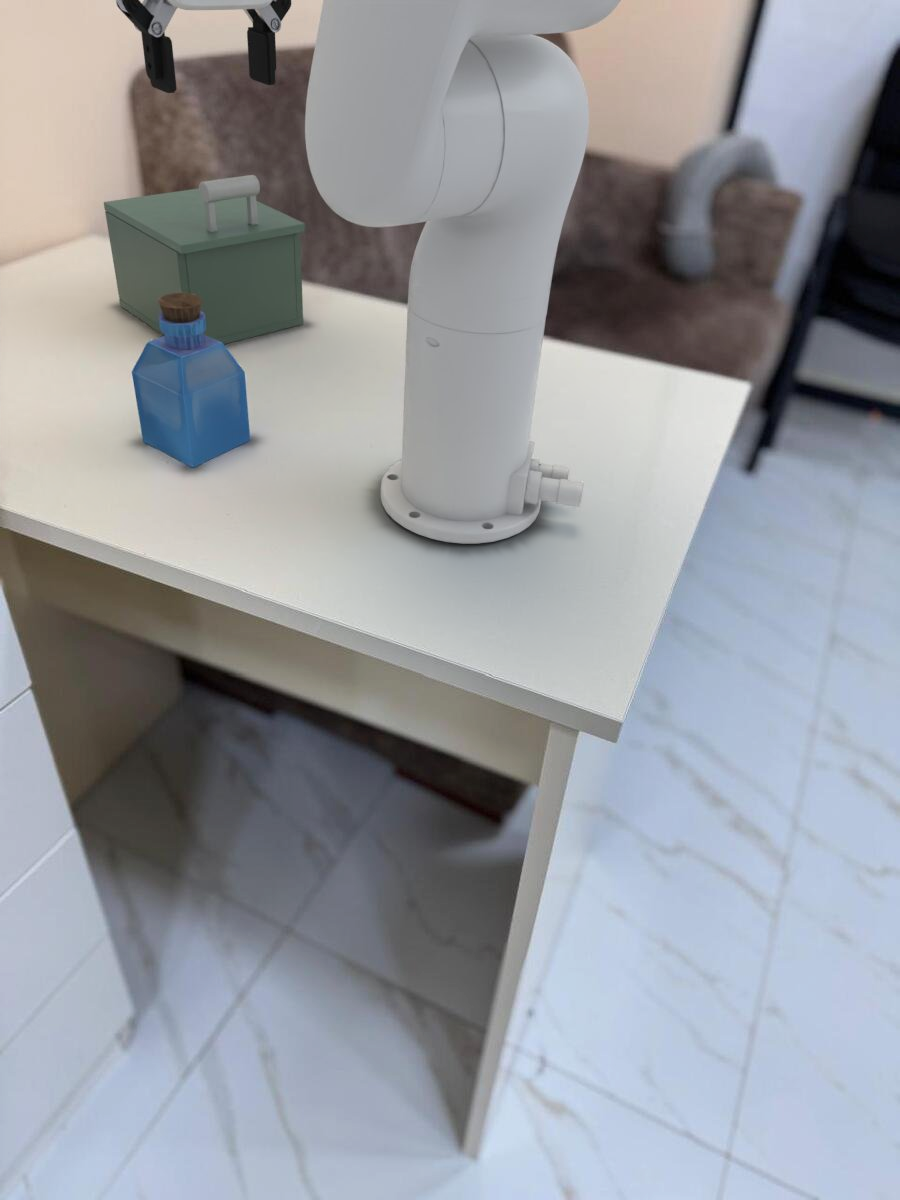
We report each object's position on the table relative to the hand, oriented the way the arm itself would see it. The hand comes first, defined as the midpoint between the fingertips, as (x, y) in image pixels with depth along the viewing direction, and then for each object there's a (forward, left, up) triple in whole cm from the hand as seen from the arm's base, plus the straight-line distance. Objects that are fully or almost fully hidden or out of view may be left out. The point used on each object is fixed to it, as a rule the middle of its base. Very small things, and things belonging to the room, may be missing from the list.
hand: (214, 85), depth 79 cm
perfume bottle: (-4, +21, -23) cm, 31 cm away
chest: (+5, -5, -23) cm, 24 cm away
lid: (+4, -5, -13) cm, 15 cm away
